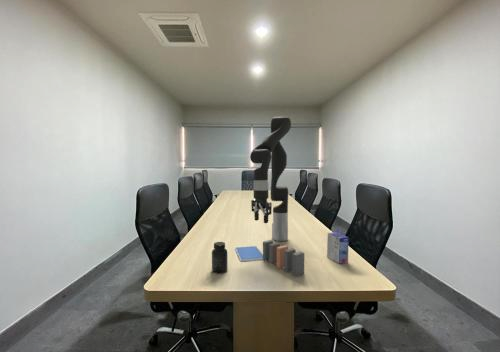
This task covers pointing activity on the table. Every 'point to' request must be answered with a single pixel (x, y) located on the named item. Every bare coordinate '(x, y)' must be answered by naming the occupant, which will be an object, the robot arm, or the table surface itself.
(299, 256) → the domino
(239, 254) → the blue flat board
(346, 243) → the ink cartridge box
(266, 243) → the domino
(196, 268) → the table surface
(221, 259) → the supplement bottle
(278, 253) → the domino
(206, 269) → the table surface
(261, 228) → the table surface
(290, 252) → the domino
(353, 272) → the table surface
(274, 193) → the robot arm
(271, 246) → the domino
